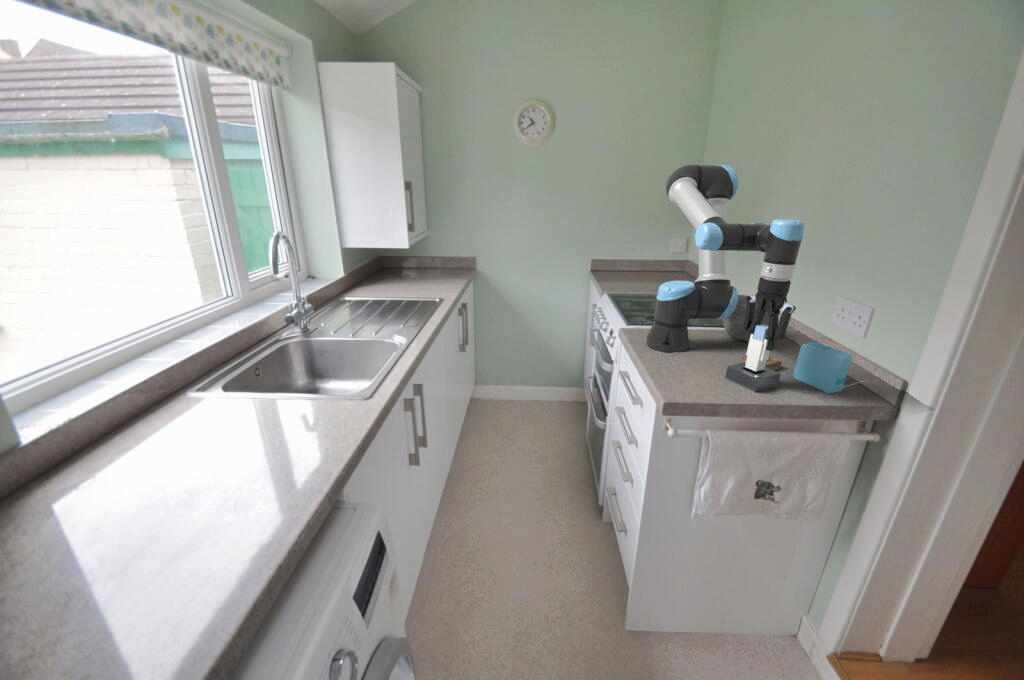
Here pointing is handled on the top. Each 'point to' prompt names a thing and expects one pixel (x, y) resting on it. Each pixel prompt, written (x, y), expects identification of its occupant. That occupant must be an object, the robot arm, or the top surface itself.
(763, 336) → the plug
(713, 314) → the robot arm
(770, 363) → the frame
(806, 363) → the data package
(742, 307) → the grey metal pot
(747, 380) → the port
